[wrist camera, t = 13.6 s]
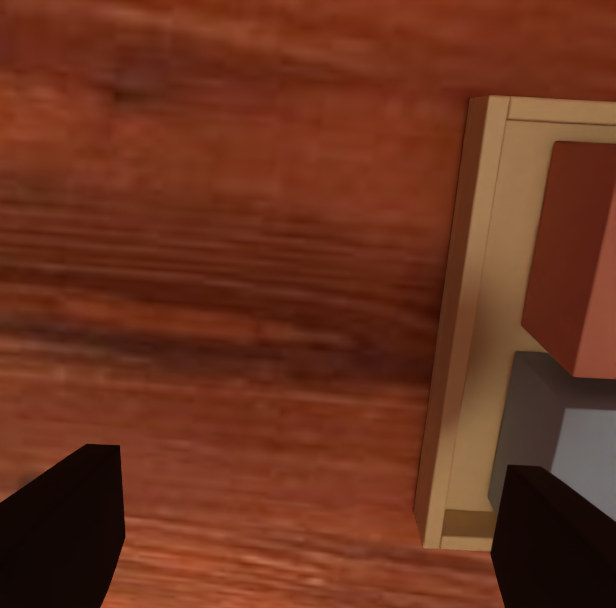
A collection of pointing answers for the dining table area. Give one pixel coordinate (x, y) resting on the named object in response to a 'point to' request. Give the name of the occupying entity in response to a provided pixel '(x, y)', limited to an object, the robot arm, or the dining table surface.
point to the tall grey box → (559, 429)
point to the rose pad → (576, 262)
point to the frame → (489, 302)
